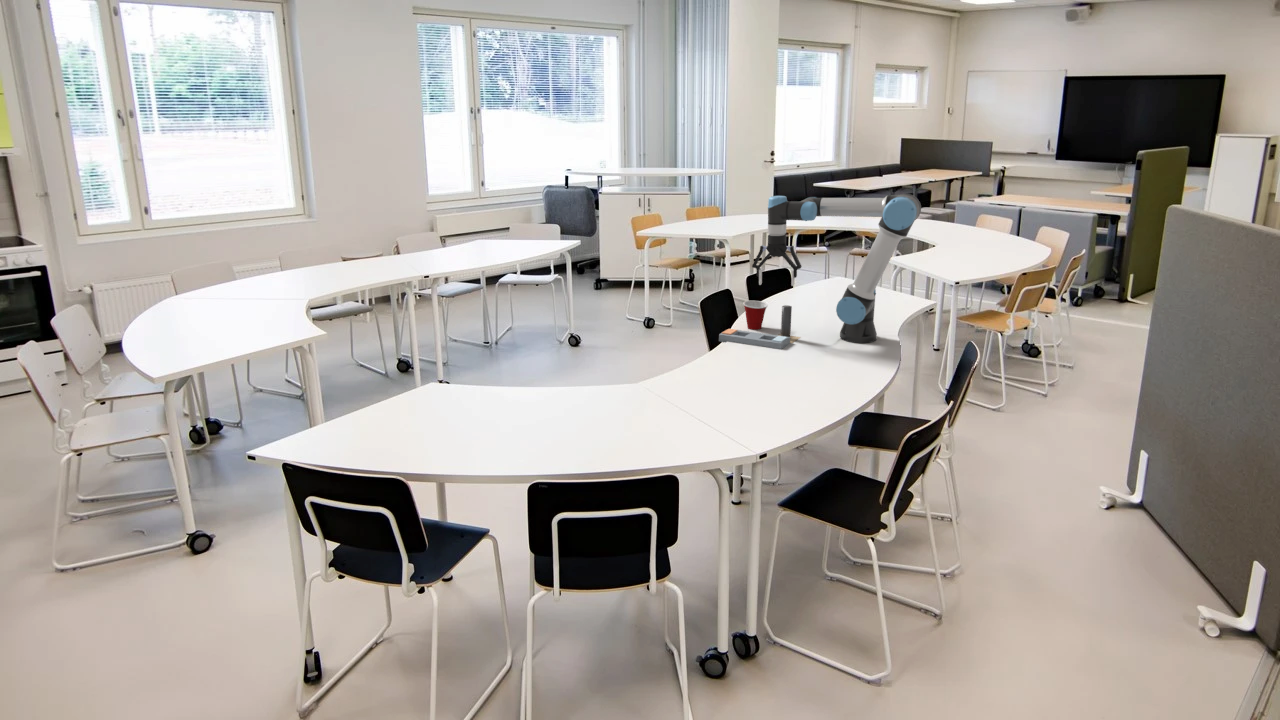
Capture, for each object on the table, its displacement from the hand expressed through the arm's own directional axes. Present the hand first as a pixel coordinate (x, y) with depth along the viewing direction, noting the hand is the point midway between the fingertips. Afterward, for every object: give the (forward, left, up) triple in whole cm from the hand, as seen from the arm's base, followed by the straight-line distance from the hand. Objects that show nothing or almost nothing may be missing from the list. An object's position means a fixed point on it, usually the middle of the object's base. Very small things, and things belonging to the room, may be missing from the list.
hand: (776, 284), depth 346 cm
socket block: (+5, +11, -23) cm, 26 cm away
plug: (-5, +1, -23) cm, 23 cm away
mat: (-5, +1, -23) cm, 24 cm away
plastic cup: (+13, -8, -23) cm, 28 cm away
